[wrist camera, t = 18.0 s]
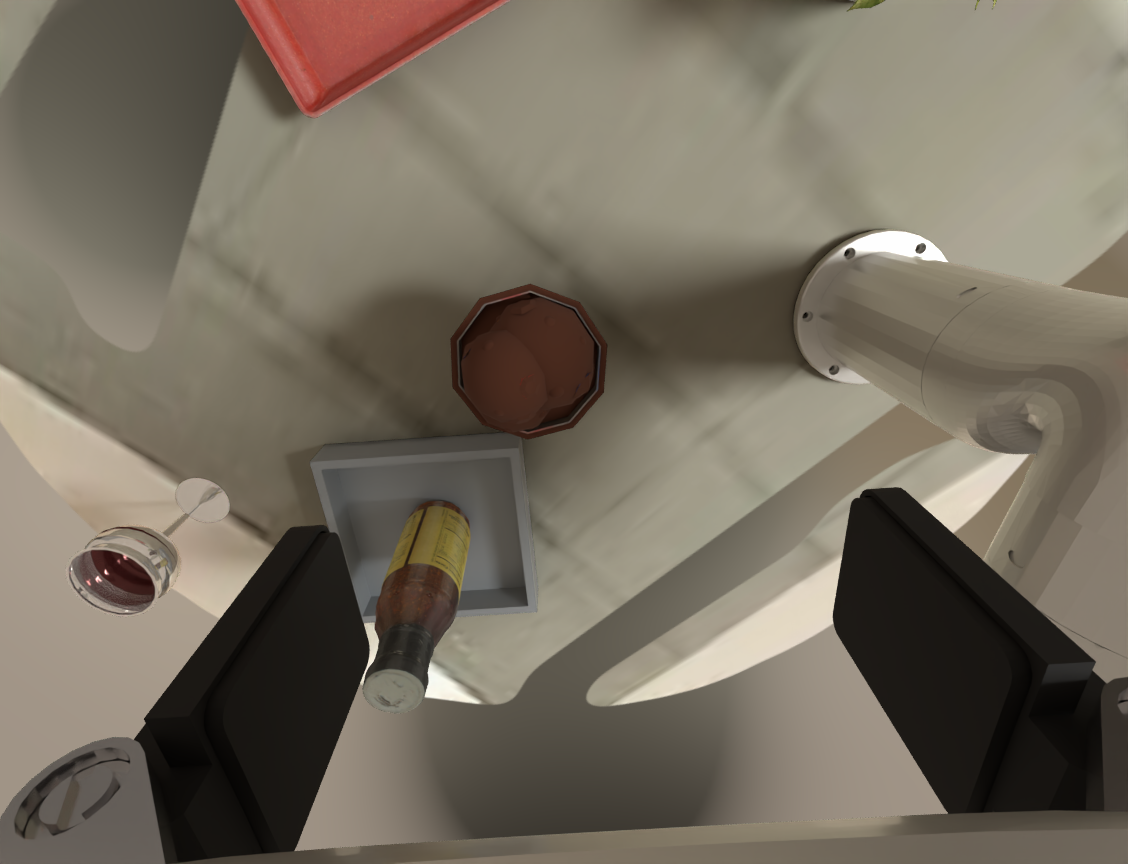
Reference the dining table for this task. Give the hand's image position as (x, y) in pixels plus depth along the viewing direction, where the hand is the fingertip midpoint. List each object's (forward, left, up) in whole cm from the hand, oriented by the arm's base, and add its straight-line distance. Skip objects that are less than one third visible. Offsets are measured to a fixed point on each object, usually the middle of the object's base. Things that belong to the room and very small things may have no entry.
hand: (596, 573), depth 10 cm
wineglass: (+36, +19, -38) cm, 56 cm away
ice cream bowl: (+3, +5, -38) cm, 39 cm away
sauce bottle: (+14, +23, -38) cm, 46 cm away
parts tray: (+14, +23, -38) cm, 47 cm away
